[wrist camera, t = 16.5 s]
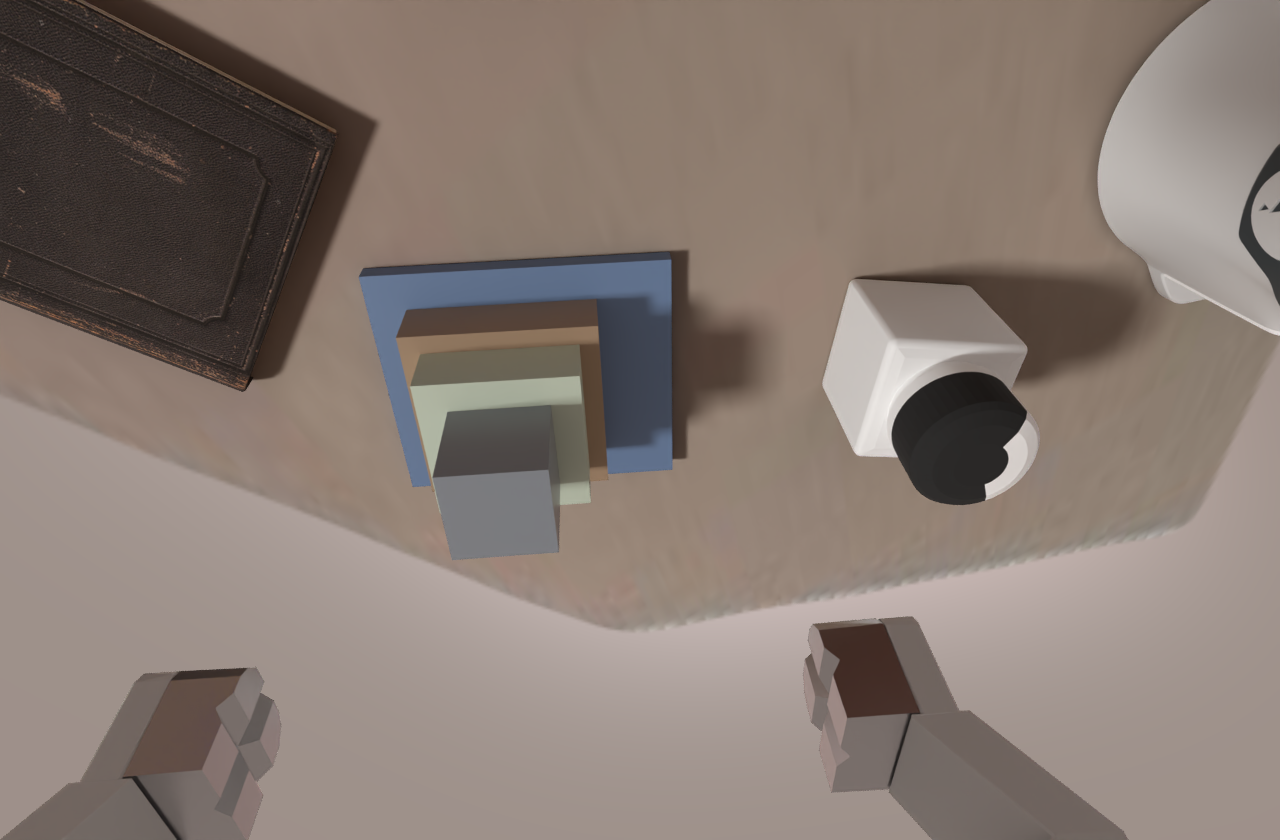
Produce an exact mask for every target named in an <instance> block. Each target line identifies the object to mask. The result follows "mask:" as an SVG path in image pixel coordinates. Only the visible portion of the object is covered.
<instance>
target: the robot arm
mask: <svg viewBox="0 0 1280 840" xmlns="http://www.w3.org/2000/svg"><path fill="white" fill-rule="evenodd" d="M1098 193H1099V199H1100V205H1101V208H1102V211H1103V214H1104V217H1105V219H1106V221H1107V223H1108V225H1109V227H1110V228H1111V230H1112V231H1113V232H1114V234H1115V235H1116V236H1117V237H1118V239H1119V240H1120V241H1122V242H1123V243H1124V244H1125V245H1126V246H1127V247H1129V248H1130V249H1131V250H1133V251H1134V252H1135V253H1137V254H1138V255H1139V256H1140V257H1142V258H1143V259H1144V261H1145V262H1146V263H1147V264H1148V268H1149V271H1150V274H1151V278H1152V281H1153V283H1154V286H1155V288H1156V290H1157V291H1158V293H1159V294H1160V295H1161V296H1163V297H1165V298H1167V299H1168V300H1170V301H1172V302H1174V303H1178V304H1184V303H1190V302H1195V301H1199V300H1203V299H1207V300H1209V301H1211V302H1213V303H1215V304H1216V305H1218V306H1220V307H1222V308H1224V309H1226V310H1228V311H1229V312H1231V313H1233V314H1235V315H1237V316H1239V317H1241V318H1243V319H1245V320H1246V321H1248V322H1250V323H1252V324H1254V325H1256V326H1258V327H1260V328H1262V329H1264V330H1265V331H1267V332H1270V333H1272V334H1275V335H1279V336H1280V0H1210V1H1209V2H1208V3H1206V4H1205V5H1203V6H1202V7H1201V8H1199V9H1198V10H1197V11H1195V12H1194V13H1193V14H1192V15H1190V16H1189V17H1188V18H1187V19H1186V20H1185V21H1183V22H1182V23H1181V24H1180V25H1179V26H1178V27H1177V28H1176V29H1175V30H1173V31H1172V32H1171V33H1170V34H1169V35H1168V36H1167V37H1166V38H1165V39H1164V40H1163V42H1162V43H1161V44H1160V45H1159V46H1158V47H1157V48H1156V49H1155V50H1154V52H1153V53H1152V54H1151V55H1150V56H1149V58H1148V59H1147V60H1146V61H1145V63H1144V64H1143V65H1142V67H1141V68H1140V69H1139V71H1138V72H1137V73H1136V75H1135V76H1134V78H1133V79H1132V81H1131V82H1130V84H1129V86H1128V87H1127V89H1126V90H1125V92H1124V94H1123V96H1122V98H1121V99H1120V101H1119V103H1118V105H1117V107H1116V109H1115V111H1114V114H1113V116H1112V118H1111V121H1110V123H1109V126H1108V128H1107V131H1106V134H1105V137H1104V141H1103V145H1102V149H1101V154H1100V159H1099V166H1098ZM808 642H809V646H810V649H811V654H810V655H809V656H808V657H807V658H806V659H805V664H804V673H803V676H804V693H805V698H806V703H807V708H808V712H809V715H810V719H811V722H812V723H813V724H814V725H815V726H816V727H817V728H818V729H819V730H821V731H822V736H821V741H820V748H819V751H820V755H821V758H822V762H823V765H824V769H825V772H826V775H827V779H828V782H829V786H830V789H831V792H848V791H866V790H883V789H890V790H889V793H890V794H891V795H892V796H893V797H894V798H895V799H896V801H897V802H898V803H899V804H900V805H901V806H902V807H903V808H904V809H905V810H906V811H907V813H908V814H909V815H910V816H911V817H912V818H913V819H914V820H915V821H916V822H917V823H918V825H920V827H921V828H922V829H923V830H924V831H925V832H926V833H927V834H928V835H929V837H930V838H931V839H932V840H1128V838H1127V837H1126V835H1125V833H1124V831H1122V830H1121V829H1120V828H1119V827H1118V826H1116V825H1115V824H1114V823H1112V822H1111V821H1110V820H1108V819H1107V818H1106V817H1105V816H1104V815H1102V814H1101V813H1099V812H1098V811H1097V810H1096V809H1094V808H1093V807H1092V806H1091V805H1089V804H1088V803H1087V802H1086V801H1084V800H1083V799H1082V798H1081V797H1079V796H1078V795H1077V794H1075V793H1074V792H1073V791H1072V790H1070V789H1069V788H1068V787H1066V786H1065V785H1064V784H1063V783H1061V782H1060V781H1059V780H1058V779H1056V778H1055V777H1054V776H1052V775H1051V774H1050V773H1049V772H1047V771H1046V770H1045V769H1044V768H1042V767H1041V766H1040V765H1038V764H1037V763H1036V762H1034V761H1033V760H1032V759H1031V758H1030V757H1028V756H1027V755H1026V754H1024V753H1023V752H1022V751H1020V750H1019V749H1018V748H1017V747H1015V746H1014V745H1013V744H1012V743H1010V742H1009V741H1008V740H1007V739H1005V738H1004V737H1003V736H1001V735H1000V734H999V733H997V732H996V731H995V730H994V729H992V728H991V727H990V726H989V725H987V724H986V723H985V722H984V721H982V720H981V719H980V718H979V717H977V716H976V715H975V714H973V713H972V712H971V711H959V709H958V707H957V705H956V702H955V700H954V698H953V696H952V694H951V692H950V690H949V687H948V685H947V683H946V681H945V679H944V677H943V675H942V672H941V670H940V668H939V666H938V664H937V662H936V660H935V658H934V656H933V653H932V651H931V649H930V647H929V645H928V643H927V640H926V638H925V636H924V634H923V632H922V630H921V628H920V625H919V624H918V622H917V621H916V620H915V619H914V618H913V617H896V618H885V619H876V618H874V619H862V620H852V621H840V622H831V623H830V622H829V623H818V624H813V625H812V626H811V628H810V630H809V636H808ZM263 684H264V680H263V678H262V677H261V675H260V673H259V671H258V669H257V668H236V669H216V670H196V671H176V672H161V673H147V674H143V675H142V676H141V677H140V678H139V679H138V680H137V681H136V682H135V683H134V684H133V685H132V687H131V689H130V690H129V692H128V694H127V696H126V698H125V700H124V702H123V703H122V705H121V707H120V709H119V711H118V713H117V715H116V717H115V718H114V720H113V722H112V724H111V725H110V727H109V729H108V731H107V733H106V735H105V736H104V738H103V740H102V742H101V744H100V746H99V747H98V750H97V751H96V753H95V755H94V757H93V759H92V760H91V762H90V764H89V766H88V768H87V770H86V772H85V773H84V775H83V777H82V779H81V781H80V782H75V783H68V784H67V785H66V786H65V787H63V788H62V789H61V790H60V791H59V792H58V793H56V794H55V795H54V796H53V797H51V798H50V799H49V800H48V801H46V802H45V803H44V804H43V805H42V806H40V807H39V808H38V809H37V810H36V811H34V812H33V813H32V814H31V815H29V816H28V817H27V818H26V819H25V820H23V821H22V822H21V823H20V824H19V825H17V826H16V827H15V828H14V829H12V830H11V831H10V832H9V833H8V834H6V835H5V836H4V837H3V838H1V839H0V840H248V839H249V836H250V833H251V830H252V827H253V824H254V821H255V818H256V815H257V813H258V810H259V806H260V804H261V801H262V798H263V794H262V792H261V789H260V787H259V785H258V783H257V781H258V780H259V779H260V778H261V777H262V776H263V775H264V774H265V773H266V772H267V771H268V770H269V769H270V768H271V767H272V766H273V764H274V761H275V758H276V755H277V752H278V749H279V743H280V731H281V722H280V716H279V711H278V709H277V706H276V704H275V702H274V700H272V699H270V698H269V697H267V696H265V695H263V694H261V693H260V692H261V689H262V687H263Z"/></svg>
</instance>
